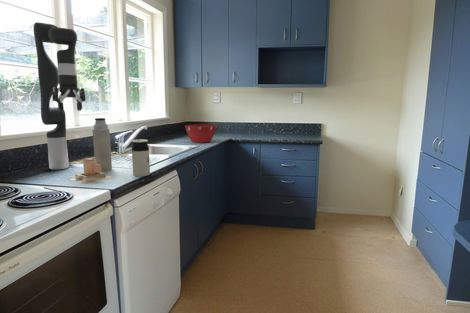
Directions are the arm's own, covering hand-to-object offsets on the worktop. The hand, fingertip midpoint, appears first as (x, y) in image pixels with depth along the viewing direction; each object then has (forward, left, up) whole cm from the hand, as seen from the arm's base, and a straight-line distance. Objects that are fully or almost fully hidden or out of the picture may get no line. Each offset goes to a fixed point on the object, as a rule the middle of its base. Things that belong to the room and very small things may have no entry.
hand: (70, 110), depth 148 cm
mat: (+10, -11, -32) cm, 35 cm away
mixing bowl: (-33, +140, -32) cm, 147 cm away
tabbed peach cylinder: (+11, +2, -31) cm, 33 cm away
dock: (+9, +2, -32) cm, 33 cm away
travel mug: (+23, +20, -32) cm, 44 cm away
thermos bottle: (-2, +17, -32) cm, 37 cm away
